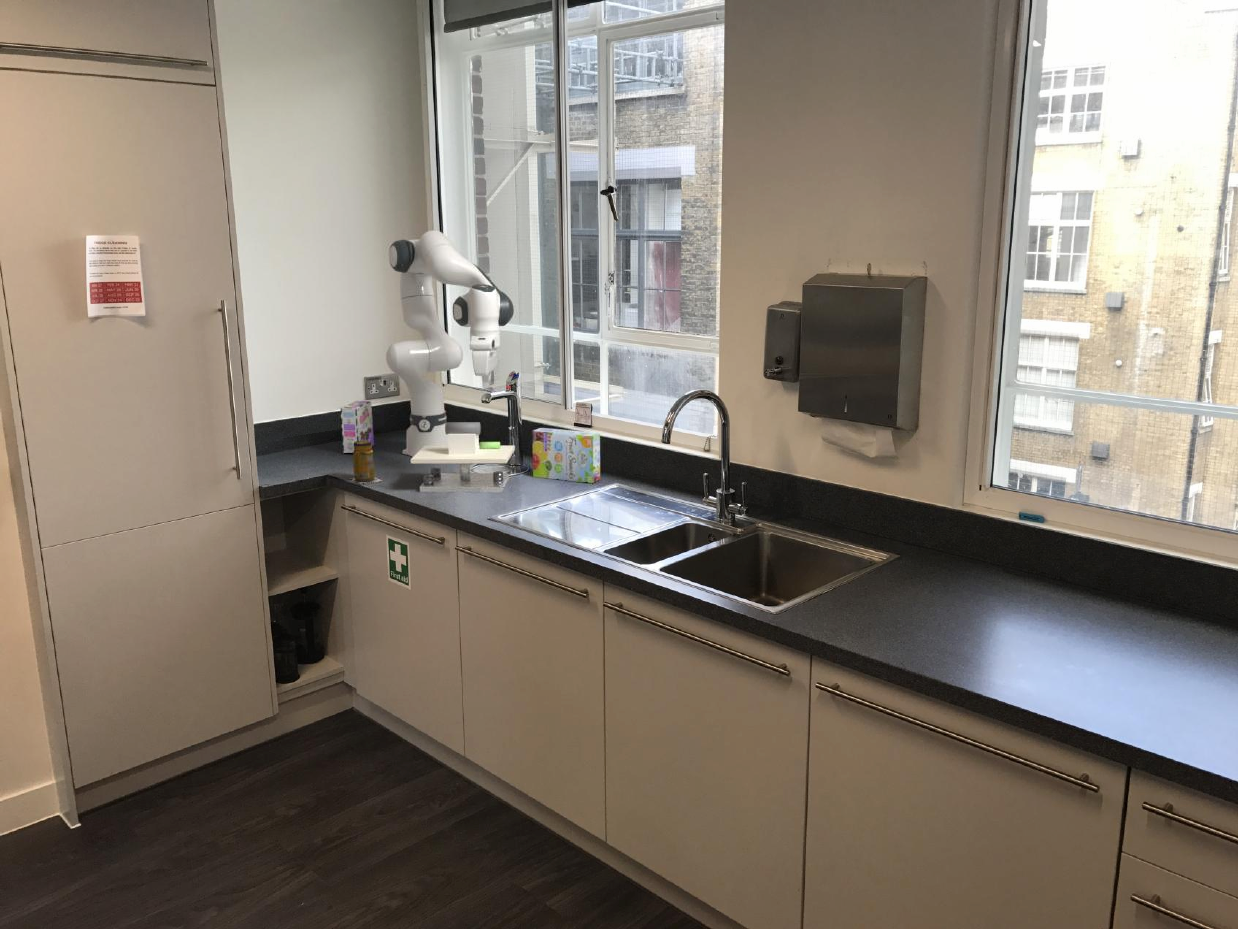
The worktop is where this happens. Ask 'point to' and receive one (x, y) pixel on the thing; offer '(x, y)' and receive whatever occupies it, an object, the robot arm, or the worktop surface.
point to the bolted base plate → (463, 481)
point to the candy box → (356, 424)
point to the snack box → (566, 455)
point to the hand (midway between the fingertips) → (486, 386)
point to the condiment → (363, 462)
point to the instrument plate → (478, 458)
